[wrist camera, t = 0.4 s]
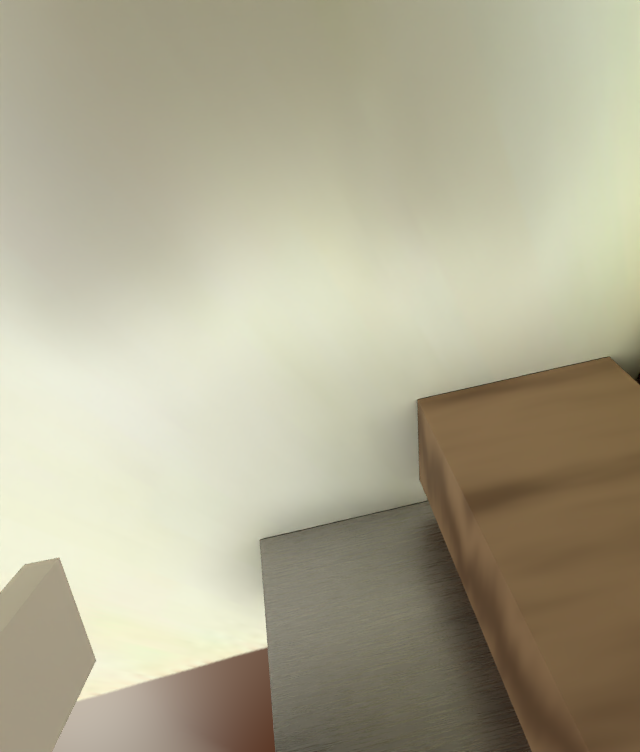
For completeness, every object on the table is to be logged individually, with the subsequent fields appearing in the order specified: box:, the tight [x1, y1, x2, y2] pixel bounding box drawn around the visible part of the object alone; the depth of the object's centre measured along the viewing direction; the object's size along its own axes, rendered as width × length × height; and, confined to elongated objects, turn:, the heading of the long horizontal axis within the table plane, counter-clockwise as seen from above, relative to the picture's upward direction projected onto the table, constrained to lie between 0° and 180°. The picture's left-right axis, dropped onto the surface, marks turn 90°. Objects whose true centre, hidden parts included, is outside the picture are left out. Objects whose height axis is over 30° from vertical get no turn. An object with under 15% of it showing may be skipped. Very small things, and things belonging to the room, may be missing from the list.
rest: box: [260, 501, 532, 752], centre depth 27 cm, size 8×12×21 cm, turn 99°
